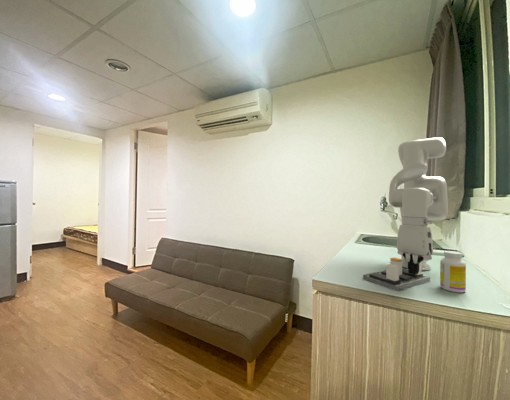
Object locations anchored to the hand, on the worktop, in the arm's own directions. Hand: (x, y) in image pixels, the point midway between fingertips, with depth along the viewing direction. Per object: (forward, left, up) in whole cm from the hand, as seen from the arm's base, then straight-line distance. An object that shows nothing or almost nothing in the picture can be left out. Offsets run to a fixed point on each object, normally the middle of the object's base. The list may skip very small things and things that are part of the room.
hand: (413, 273), depth 80 cm
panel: (0, -6, -5) cm, 8 cm away
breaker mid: (0, -6, -2) cm, 7 cm away
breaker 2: (-8, -3, -2) cm, 9 cm away
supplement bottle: (-9, +8, -5) cm, 13 cm away
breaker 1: (+7, -3, -2) cm, 8 cm away
